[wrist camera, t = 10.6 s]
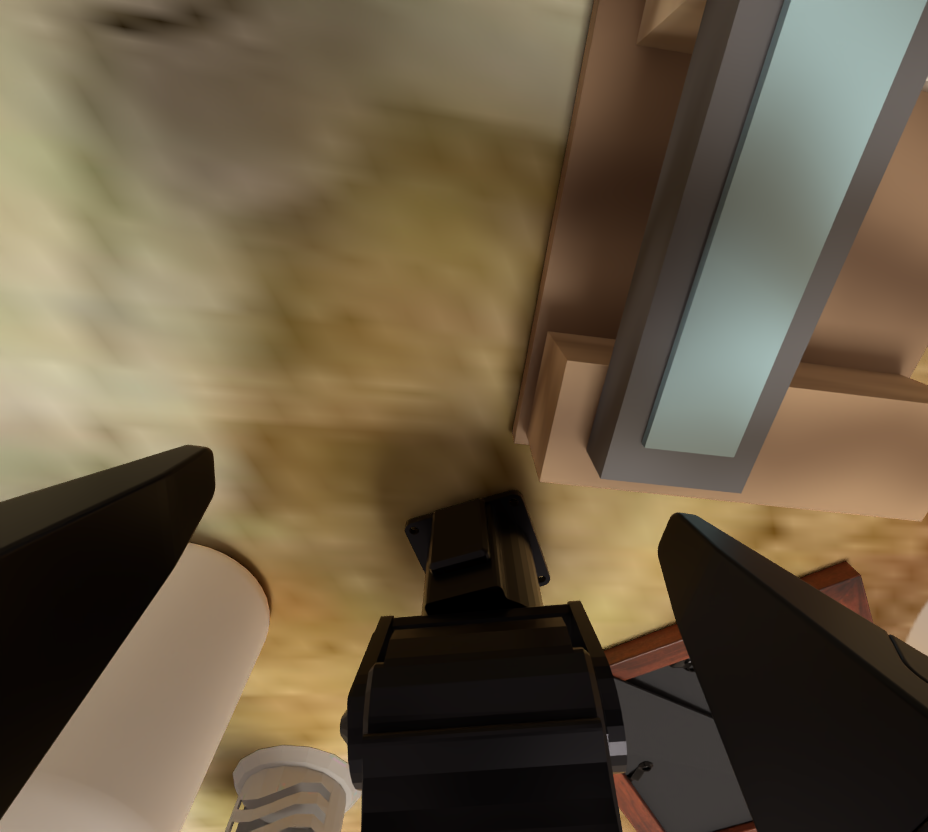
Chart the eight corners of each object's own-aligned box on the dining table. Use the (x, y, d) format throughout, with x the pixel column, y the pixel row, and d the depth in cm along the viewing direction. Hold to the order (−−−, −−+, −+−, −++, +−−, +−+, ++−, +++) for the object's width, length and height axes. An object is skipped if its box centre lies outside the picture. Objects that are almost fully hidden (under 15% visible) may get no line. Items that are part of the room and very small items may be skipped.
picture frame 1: (712, 463, 18) (745, 498, 16) (586, 450, 18) (603, 483, 16) (941, -103, 11) (1050, -171, 9) (744, -140, 11) (810, -219, 9)
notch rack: (837, 469, 24) (926, 532, 19) (512, 433, 23) (524, 491, 18) (1132, -79, 15) (1419, -199, 11) (627, -175, 14) (705, -351, 10)
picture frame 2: (528, 668, 31) (654, 839, 40) (533, 697, 29) (663, 869, 39) (837, 553, 27) (899, 771, 36) (864, 579, 25) (922, 802, 35)
